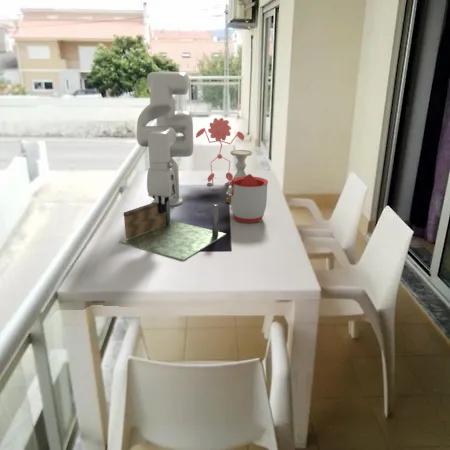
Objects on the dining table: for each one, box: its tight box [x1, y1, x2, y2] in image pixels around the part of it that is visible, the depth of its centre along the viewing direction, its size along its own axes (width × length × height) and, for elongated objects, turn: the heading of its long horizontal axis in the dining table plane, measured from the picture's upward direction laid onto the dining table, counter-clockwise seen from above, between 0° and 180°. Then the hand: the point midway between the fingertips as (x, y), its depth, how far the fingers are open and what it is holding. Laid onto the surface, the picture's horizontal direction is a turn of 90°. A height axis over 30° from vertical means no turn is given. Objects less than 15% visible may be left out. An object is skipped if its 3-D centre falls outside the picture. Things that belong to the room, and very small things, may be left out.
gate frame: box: [119, 200, 227, 262], centre depth 165 cm, size 30×28×14 cm
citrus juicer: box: [226, 173, 269, 224], centre depth 185 cm, size 16×17×20 cm
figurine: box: [195, 117, 245, 186], centre depth 239 cm, size 15×26×35 cm, turn 98°
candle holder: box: [225, 149, 253, 204], centre depth 208 cm, size 11×11×24 cm
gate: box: [123, 201, 166, 239], centre depth 170 cm, size 20×2×10 cm, turn 143°
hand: (162, 212), depth 165 cm, fingers closed
